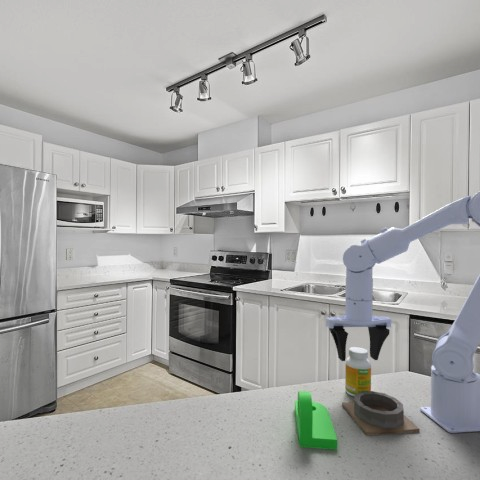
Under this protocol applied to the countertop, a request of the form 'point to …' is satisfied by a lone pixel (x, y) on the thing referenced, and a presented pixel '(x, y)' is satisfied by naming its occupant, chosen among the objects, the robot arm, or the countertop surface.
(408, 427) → the collar holder
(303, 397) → the mechanical part
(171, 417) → the countertop surface
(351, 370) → the supplement bottle
